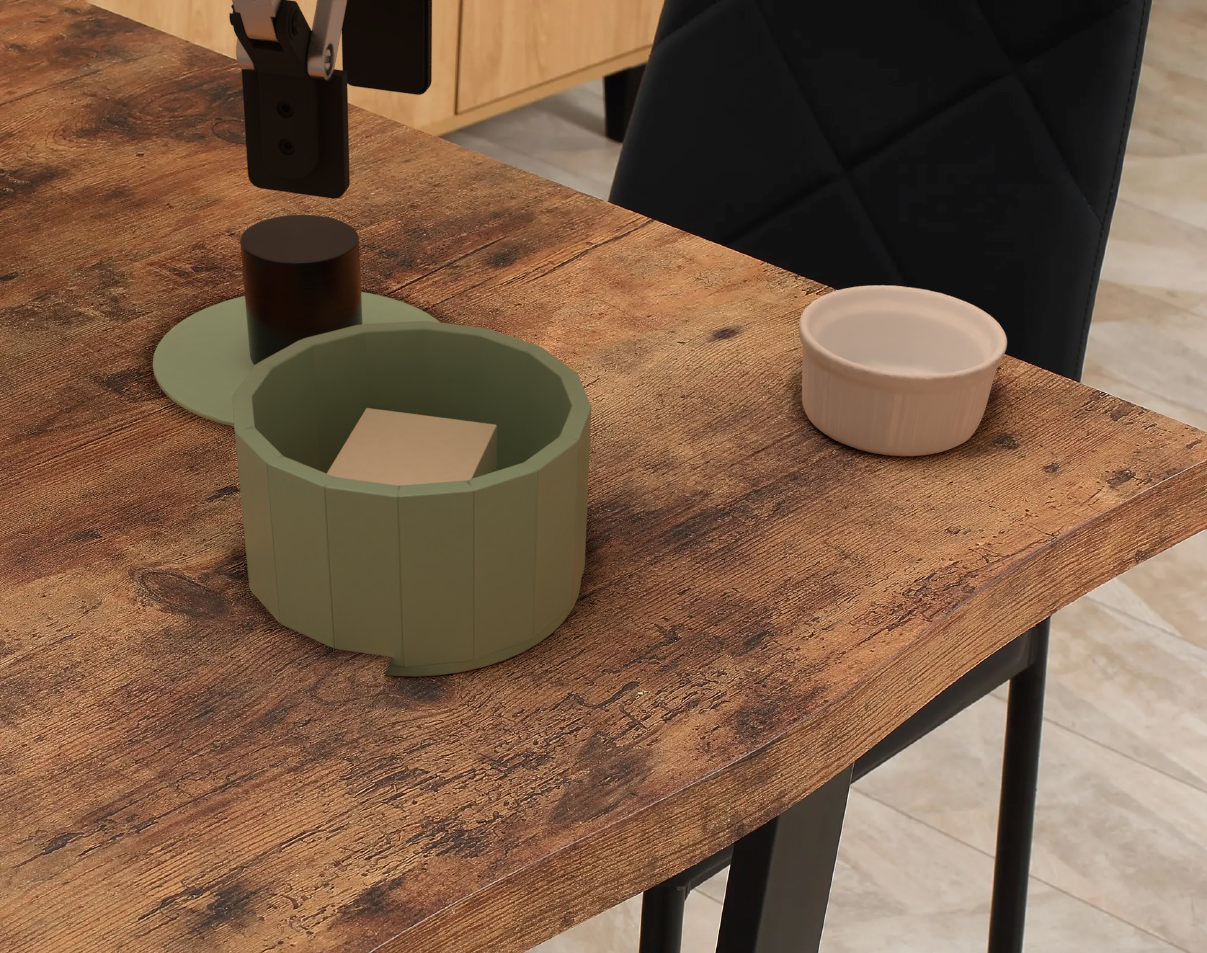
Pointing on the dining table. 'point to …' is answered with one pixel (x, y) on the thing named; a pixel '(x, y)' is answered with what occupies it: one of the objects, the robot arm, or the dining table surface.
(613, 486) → the dining table surface
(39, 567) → the dining table surface
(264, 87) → the robot arm
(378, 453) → the tan cube
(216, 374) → the tin lid
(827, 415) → the ramekin
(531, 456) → the tin
